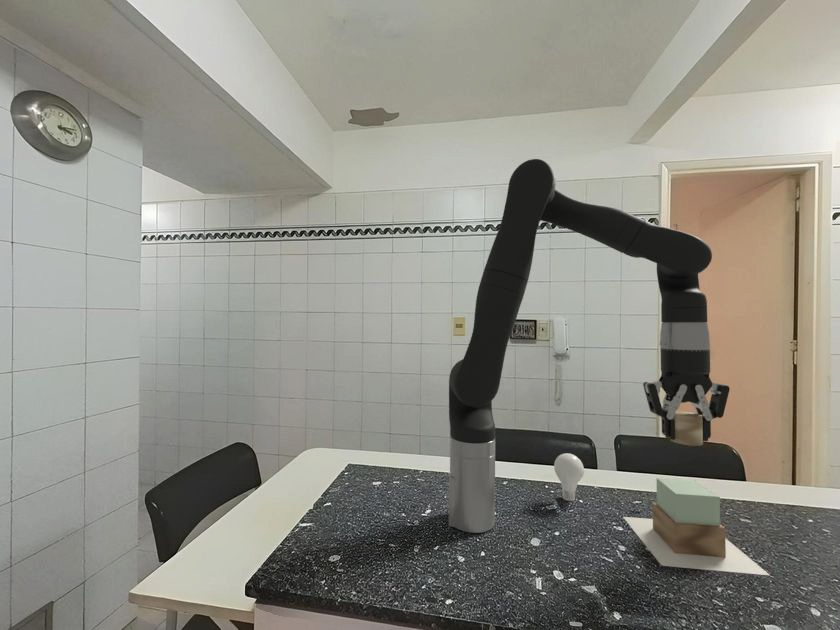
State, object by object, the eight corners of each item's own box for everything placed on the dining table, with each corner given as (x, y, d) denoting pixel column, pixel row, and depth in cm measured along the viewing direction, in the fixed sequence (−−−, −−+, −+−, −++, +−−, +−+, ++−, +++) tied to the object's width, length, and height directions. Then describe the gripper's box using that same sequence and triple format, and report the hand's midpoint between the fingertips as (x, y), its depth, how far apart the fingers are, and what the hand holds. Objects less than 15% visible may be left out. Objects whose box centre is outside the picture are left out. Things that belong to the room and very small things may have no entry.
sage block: (676, 522, 66) (675, 493, 66) (656, 504, 73) (656, 477, 73) (720, 526, 65) (719, 496, 65) (696, 506, 72) (695, 480, 72)
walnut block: (674, 553, 65) (674, 523, 65) (652, 528, 73) (652, 502, 73) (725, 557, 64) (725, 527, 64) (697, 532, 72) (697, 505, 72)
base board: (661, 571, 62) (661, 565, 62) (622, 521, 78) (622, 516, 78) (770, 581, 59) (770, 575, 60) (707, 528, 75) (707, 523, 75)
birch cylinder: (678, 445, 67) (678, 416, 67) (664, 436, 72) (664, 410, 72) (709, 446, 66) (708, 417, 66) (692, 438, 71) (692, 411, 71)
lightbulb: (586, 510, 82) (586, 460, 82) (556, 507, 83) (556, 457, 84) (580, 497, 88) (580, 450, 88) (552, 495, 89) (552, 448, 90)
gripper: (652, 347, 67) (654, 444, 66) (741, 348, 65) (743, 447, 64) (634, 345, 74) (635, 432, 74) (713, 346, 72) (715, 435, 72)
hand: (686, 438), depth 69 cm, fingers closed on birch cylinder, 5 cm apart
